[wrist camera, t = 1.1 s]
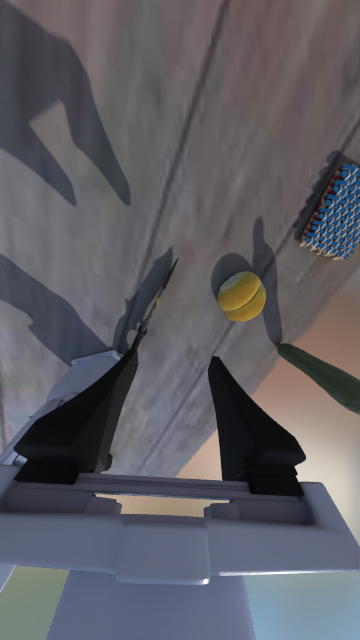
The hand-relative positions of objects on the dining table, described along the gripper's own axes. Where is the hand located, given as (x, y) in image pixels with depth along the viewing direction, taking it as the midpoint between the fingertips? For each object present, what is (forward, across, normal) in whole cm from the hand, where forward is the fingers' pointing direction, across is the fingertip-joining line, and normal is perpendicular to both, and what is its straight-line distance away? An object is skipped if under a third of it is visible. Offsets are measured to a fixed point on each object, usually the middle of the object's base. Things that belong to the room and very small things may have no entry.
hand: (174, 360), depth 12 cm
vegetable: (+16, -25, +8) cm, 31 cm away
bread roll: (+16, -11, -2) cm, 19 cm away
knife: (+13, +6, +3) cm, 14 cm away
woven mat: (+19, -24, -16) cm, 35 cm away
